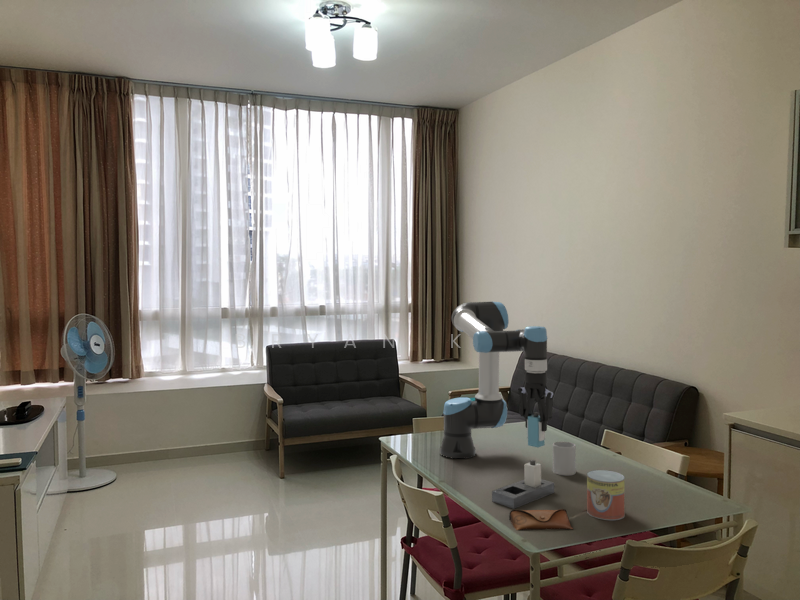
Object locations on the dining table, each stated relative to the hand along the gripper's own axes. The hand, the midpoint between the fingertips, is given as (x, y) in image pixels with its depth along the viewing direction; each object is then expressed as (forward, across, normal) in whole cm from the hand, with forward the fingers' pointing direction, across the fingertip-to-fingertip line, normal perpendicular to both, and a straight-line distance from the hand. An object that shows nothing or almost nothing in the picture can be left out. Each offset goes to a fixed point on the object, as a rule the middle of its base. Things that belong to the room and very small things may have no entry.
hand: (536, 438), depth 205 cm
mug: (+19, -7, +27) cm, 34 cm away
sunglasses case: (+20, +16, -21) cm, 33 cm away
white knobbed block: (+18, 0, -2) cm, 18 cm away
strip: (+19, 0, -7) cm, 20 cm away
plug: (+2, 0, 0) cm, 2 cm away
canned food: (+19, +25, +1) cm, 32 cm away
